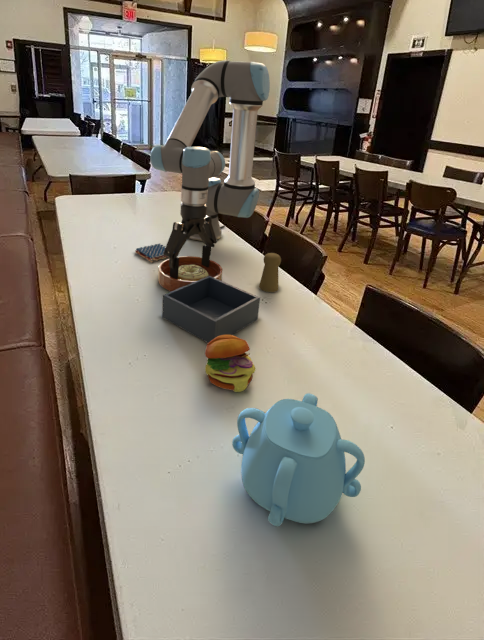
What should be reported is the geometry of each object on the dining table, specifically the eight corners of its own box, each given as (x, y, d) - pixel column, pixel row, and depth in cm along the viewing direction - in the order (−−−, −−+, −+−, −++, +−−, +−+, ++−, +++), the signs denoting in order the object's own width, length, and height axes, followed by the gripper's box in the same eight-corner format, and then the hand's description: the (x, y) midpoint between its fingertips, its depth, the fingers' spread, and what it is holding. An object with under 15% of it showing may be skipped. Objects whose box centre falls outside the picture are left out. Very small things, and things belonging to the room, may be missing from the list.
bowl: (189, 264, 139) (190, 251, 138) (233, 282, 128) (235, 269, 127) (145, 280, 125) (145, 266, 124) (190, 302, 114) (191, 288, 112)
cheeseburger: (219, 401, 78) (216, 351, 77) (196, 379, 88) (193, 334, 86) (264, 387, 83) (262, 339, 81) (238, 367, 92) (235, 325, 91)
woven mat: (133, 253, 144) (133, 247, 144) (159, 247, 151) (159, 242, 150) (150, 263, 137) (150, 257, 137) (175, 256, 144) (176, 251, 143)
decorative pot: (224, 449, 68) (230, 383, 63) (312, 435, 73) (325, 371, 67) (257, 549, 54) (269, 472, 49) (365, 523, 58) (386, 450, 53)
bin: (207, 296, 118) (209, 275, 116) (257, 319, 108) (260, 297, 106) (162, 317, 106) (162, 294, 103) (213, 346, 96) (215, 321, 93)
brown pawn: (256, 289, 125) (260, 255, 121) (262, 281, 130) (266, 249, 126) (275, 293, 123) (280, 259, 119) (280, 286, 128) (285, 253, 124)
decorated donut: (213, 279, 129) (214, 267, 127) (194, 291, 120) (195, 279, 118) (185, 270, 133) (186, 259, 132) (165, 281, 124) (166, 270, 123)
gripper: (171, 212, 106) (168, 287, 114) (231, 200, 125) (225, 265, 132) (151, 206, 111) (150, 278, 118) (212, 195, 129) (208, 258, 136)
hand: (190, 271), depth 125 cm, fingers open, 13 cm apart
